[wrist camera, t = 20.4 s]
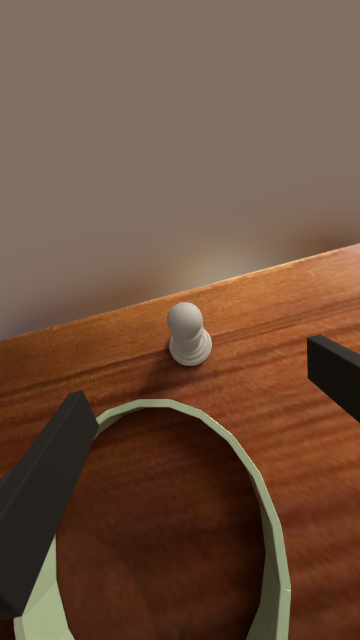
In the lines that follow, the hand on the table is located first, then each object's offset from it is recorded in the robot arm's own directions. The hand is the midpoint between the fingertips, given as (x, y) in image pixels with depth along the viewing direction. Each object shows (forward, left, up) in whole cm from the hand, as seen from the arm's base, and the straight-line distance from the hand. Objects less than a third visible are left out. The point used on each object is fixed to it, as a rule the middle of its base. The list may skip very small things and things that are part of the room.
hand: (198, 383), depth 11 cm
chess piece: (-3, +5, -12) cm, 13 cm away
